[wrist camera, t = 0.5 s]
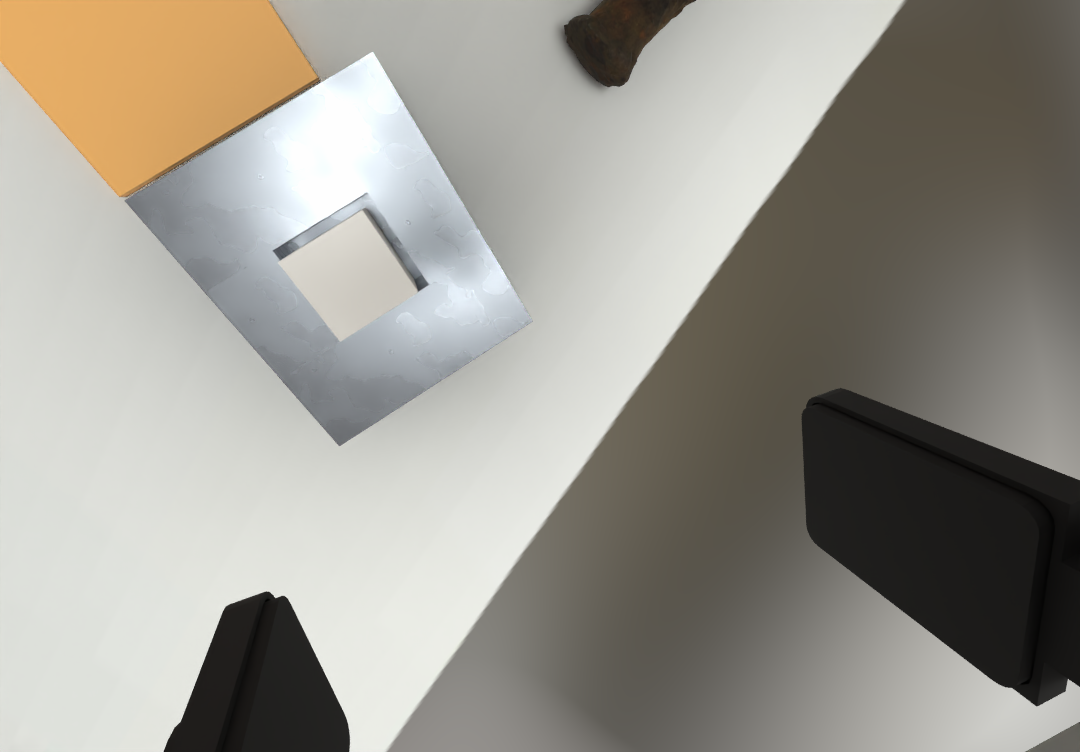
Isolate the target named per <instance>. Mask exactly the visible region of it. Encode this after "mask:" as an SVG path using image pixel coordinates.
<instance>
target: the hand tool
mask: <svg viewBox="0 0 1080 752" xmlns="http://www.w3.org/2000/svg"><path fill="white" fill-rule="evenodd" d="M694 1H696V0H603V1H602V2H601V3H600V4H599V6H598V7H597V8H596V9H595V10H594V11H593V12H592V13H591V14H590V15H581V16H577V17H574V18H573V19H572V20H571V21H569V23H568V24H567V25H564V27H565V34H566V36H567V43H568V44H569V46H570V47H571V48H572V50H573V51H574V53H575V54H576V56H577V58H578V59H579V61H580V63H581V64H582V65H583V67H584V68H585V69H586V70H587V71H588V73H589V74H590V75H592V76H593V77H594V78H595V79H596V80H597V81H598V82H600V83H601V84H603V85H604V86H607V87H610V86H618V87H619V86H622V85H624V84H625V83H626V82H627V81H628V79H629V77H630V74H631V72H632V69H633V67H634V65H635V64H636V62H637V58H638V56H639V54H640V53H641V51H642V49H643V47H644V46H645V45H646V44H647V43H648V42H650V41H651V39H652V38H653V37H654V36H655V35H656V34H657V33H658V32H659V31H660V30H661V29H662V28H663V27H665V26H666V24H667V23H668V22H669V21H670V20H671V19H672V18H674V17H676V16H677V15H678V14H679V13H680V12H682V10H683V8H684V7H685V6H687V5H688V4H690V3H692V2H694Z"/></svg>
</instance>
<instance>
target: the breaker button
mask: <svg viewBox="0 0 1080 752" xmlns="http://www.w3.org/2000/svg"><path fill="white" fill-rule="evenodd" d="M278 264H279V265H280V266H281V267H282V269H283V270H284V271H285V272H286V274H287V275H288V276H289V277H290V279H291V280H292V281H293V283H294V284H295V285H296V286H297V288H298V289H299V290H300V291H301V293H302V294H303V295H304V297H305V298H306V299H307V300H308V302H309V303H310V304H311V305H312V307H313V308H314V309H315V310H316V312H317V313H318V314H319V316H320V317H321V318H322V319H323V321H324V322H325V323H326V324H327V326H328V327H329V328H330V330H331V331H332V332H333V333H334V335H335V336H336V337H337V338H338V340H339V341H340V342H341V341H342V340H344V339H346V338H347V337H349V336H350V335H352V334H353V333H355V332H357V331H358V330H360V329H361V328H363V327H365V326H366V325H368V324H369V323H371V322H372V321H374V320H376V319H377V318H379V317H380V316H382V315H383V314H385V313H387V312H388V311H390V310H391V309H393V308H395V307H396V306H398V305H399V304H401V303H402V302H404V301H406V300H407V299H409V298H410V297H412V296H413V295H415V294H417V293H418V290H417V287H416V284H415V281H414V278H413V277H412V275H411V274H410V272H409V271H408V269H407V268H406V266H405V265H404V264H403V262H402V261H401V259H400V258H399V256H398V255H397V253H396V252H395V250H394V249H393V247H392V246H391V244H390V243H389V241H388V240H387V238H386V237H385V235H384V234H383V233H382V231H381V230H380V228H379V227H378V225H377V224H376V222H375V221H374V219H373V218H372V216H371V215H370V213H369V212H368V210H367V209H366V207H365V208H363V209H362V210H360V211H358V212H357V213H355V214H354V215H352V216H350V217H349V218H347V219H346V220H344V221H342V222H341V223H339V224H337V225H336V226H334V227H333V228H331V229H329V230H328V231H326V232H325V233H323V234H321V235H320V236H318V237H316V238H315V239H313V240H312V241H310V242H308V243H307V244H305V245H304V246H302V247H300V248H299V249H297V250H295V251H294V252H292V253H291V254H289V255H288V256H286V257H285V258H283V259H282V260H280V261H279V262H278Z"/></svg>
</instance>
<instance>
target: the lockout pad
mask: <svg viewBox="0 0 1080 752" xmlns="http://www.w3.org/2000/svg"><path fill="white" fill-rule="evenodd" d="M0 62H1V63H2V64H3V65H4V66H5V67H6V68H7V69H8V71H9V72H10V73H11V74H12V75H13V76H14V77H15V79H16V80H17V81H18V82H19V83H20V84H21V85H22V87H23V88H24V89H25V90H26V91H27V92H28V93H29V95H30V96H31V97H32V98H33V99H34V100H35V101H36V103H37V104H38V105H39V106H40V107H41V108H42V109H43V111H44V112H45V113H46V114H47V115H48V116H49V117H50V119H51V120H52V121H53V122H54V123H55V124H56V125H57V127H58V128H59V129H60V130H61V131H62V132H63V133H64V135H65V136H66V137H67V138H68V139H69V140H70V141H71V142H72V144H73V145H74V146H75V147H76V148H77V149H78V150H79V152H80V153H81V154H82V155H83V156H84V157H85V158H86V160H87V161H88V162H89V163H90V164H91V165H92V166H93V168H94V169H95V170H96V171H97V172H98V173H99V174H100V176H101V177H102V178H103V179H104V180H105V181H106V182H107V184H108V185H109V186H110V187H111V188H112V189H113V190H114V192H115V193H116V194H117V195H118V196H119V197H127V196H128V195H130V194H132V193H133V192H135V191H137V190H138V189H140V188H142V187H143V186H145V185H147V184H148V183H150V182H152V181H153V180H155V179H157V178H158V177H160V176H162V175H163V174H165V173H167V172H168V171H170V170H172V169H173V168H175V167H177V166H178V165H180V164H182V163H183V162H185V161H187V160H188V159H190V158H192V157H193V156H195V155H197V154H198V153H200V152H202V151H203V150H205V149H207V148H208V147H210V146H212V145H213V144H215V143H217V142H218V141H220V140H222V139H223V138H225V137H227V136H228V135H230V134H232V133H233V132H235V131H237V130H238V129H240V128H242V127H243V126H245V125H247V124H248V123H250V122H252V121H253V120H255V119H257V118H258V117H260V116H262V115H263V114H265V113H267V112H268V111H270V110H272V109H273V108H275V107H277V106H278V105H280V104H282V103H283V102H285V101H287V100H288V99H290V98H292V97H293V96H295V95H297V94H298V93H300V92H302V91H303V90H305V89H307V88H308V87H310V86H312V85H313V84H315V83H317V82H318V81H320V80H319V78H318V76H317V75H316V73H315V72H314V70H313V69H312V67H311V66H310V64H309V63H308V61H307V59H306V58H305V56H304V55H303V53H302V52H301V50H300V49H299V47H298V46H297V44H296V42H295V41H294V39H293V38H292V36H291V35H290V33H289V32H288V30H287V29H286V27H285V25H284V24H283V22H282V21H281V19H280V18H279V16H278V15H277V13H276V12H275V10H274V8H273V7H272V5H271V4H270V2H269V1H268V0H0Z"/></svg>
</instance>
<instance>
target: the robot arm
mask: <svg viewBox="0 0 1080 752" xmlns="http://www.w3.org/2000/svg"><path fill="white" fill-rule="evenodd" d="M802 436H803V457H804V458H803V459H804V481H805V503H806V525H807V530H808V533H809V535H810V537H811V539H812V540H813V541H814V543H815V544H817V545H818V546H819V547H820V548H821V549H823V550H824V551H825V552H826V553H828V554H829V555H830V556H832V557H833V558H834V559H836V560H837V561H838V562H839V563H841V564H842V565H843V566H845V567H846V568H847V569H849V570H850V571H851V572H852V573H854V574H855V575H856V576H858V577H859V578H860V579H862V580H863V581H864V582H865V583H867V584H868V585H869V586H871V587H872V588H873V589H875V590H876V591H877V592H879V593H880V594H881V595H882V596H884V597H885V598H886V599H888V600H889V601H890V602H891V603H893V604H894V605H895V606H897V607H898V608H899V609H901V610H902V611H903V612H905V613H906V614H907V615H908V616H910V617H911V618H912V619H914V620H915V621H916V622H917V623H919V624H920V625H922V626H923V627H924V628H925V629H927V630H928V631H929V632H930V633H932V634H933V635H935V636H936V637H937V638H938V639H940V640H941V641H942V642H944V643H945V644H946V645H947V646H949V647H950V648H951V649H953V650H954V651H955V652H957V653H958V654H959V655H960V656H962V657H963V658H964V659H966V660H967V661H968V662H969V663H971V664H972V665H973V666H975V667H976V668H977V669H979V670H980V671H981V672H983V673H984V674H985V675H987V676H988V677H989V678H990V679H992V680H993V681H995V682H996V683H998V684H1000V685H1002V686H1004V687H1008V688H1013V689H1014V690H1016V691H1017V692H1018V693H1020V694H1021V695H1022V696H1024V697H1025V698H1026V699H1028V700H1029V701H1030V702H1031V703H1033V704H1034V705H1035V706H1039V705H1041V704H1043V703H1044V702H1046V701H1048V700H1050V699H1052V698H1054V697H1056V696H1058V695H1059V694H1061V693H1063V692H1065V691H1066V685H1067V680H1068V679H1069V680H1071V681H1072V682H1074V683H1075V684H1077V685H1078V686H1079V687H1080V480H1077V479H1075V478H1072V477H1070V476H1067V475H1065V474H1062V473H1059V472H1057V471H1054V470H1052V469H1049V468H1047V467H1044V466H1042V465H1039V464H1036V463H1034V462H1031V461H1029V460H1026V459H1024V458H1021V457H1018V456H1016V455H1013V454H1011V453H1008V452H1005V451H1003V450H1000V449H998V448H995V447H993V446H990V445H988V444H985V443H982V442H980V441H977V440H975V439H972V438H969V437H967V436H964V435H962V434H959V433H957V432H954V431H952V430H949V429H946V428H944V427H941V426H939V425H936V424H934V423H931V422H928V421H926V420H923V419H921V418H918V417H916V416H913V415H910V414H908V413H905V412H903V411H900V410H897V409H895V408H892V407H889V406H887V405H885V404H882V403H880V402H877V401H874V400H872V399H869V398H867V397H864V396H861V395H859V394H857V393H854V392H851V391H849V390H846V389H841V388H840V389H835V390H832V391H829V392H827V393H824V394H821V395H818V396H815V397H813V398H811V399H810V400H809V401H808V403H807V405H806V409H804V411H803V413H802ZM349 748H350V735H349V728H348V723H347V719H346V717H345V714H344V712H343V710H342V708H341V706H340V704H339V702H338V700H337V698H336V696H335V694H334V691H333V689H332V687H331V685H330V683H329V681H328V679H327V677H326V675H325V673H324V671H323V669H322V667H321V665H320V663H319V661H318V659H317V657H316V655H315V653H314V651H313V649H312V647H311V645H310V642H309V640H308V638H307V636H306V634H305V632H304V630H303V628H302V626H301V624H300V622H299V620H298V618H297V616H296V614H295V612H294V610H293V608H292V606H291V604H290V602H289V600H288V599H287V598H286V597H285V596H281V597H278V598H275V597H274V596H273V595H272V594H271V593H270V592H267V591H266V592H263V593H260V594H258V595H255V596H252V597H249V598H246V599H244V600H241V601H238V602H235V603H232V604H229V605H228V606H226V607H225V609H224V611H223V613H222V615H221V618H220V621H219V623H218V626H217V629H216V631H215V634H214V636H213V639H212V642H211V644H210V647H209V649H208V652H207V655H206V657H205V660H204V663H203V665H202V668H201V670H200V673H199V676H198V678H197V681H196V684H195V686H194V689H193V691H192V694H191V697H190V699H189V702H188V704H187V707H186V710H185V712H184V715H183V718H182V720H181V722H180V723H179V724H178V725H177V726H176V727H175V728H174V730H173V732H172V734H171V736H170V738H169V739H168V742H167V744H166V747H165V750H164V752H349ZM1026 752H1080V722H1079V723H1077V724H1075V725H1073V726H1071V727H1070V728H1068V729H1066V730H1064V731H1062V732H1060V733H1059V734H1057V735H1055V736H1053V737H1052V738H1050V739H1048V740H1046V741H1044V742H1042V743H1041V744H1039V745H1037V746H1035V747H1033V748H1031V749H1029V750H1028V751H1026Z"/></svg>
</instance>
